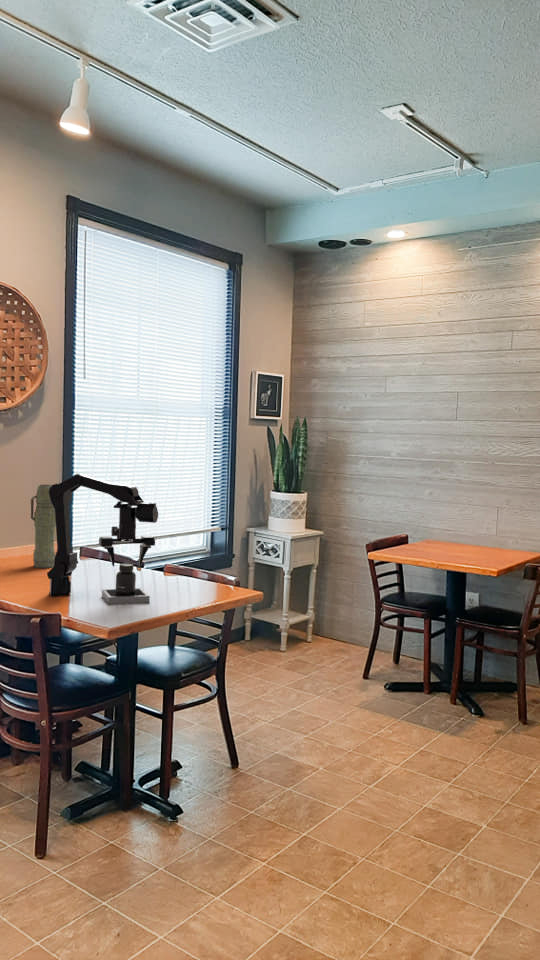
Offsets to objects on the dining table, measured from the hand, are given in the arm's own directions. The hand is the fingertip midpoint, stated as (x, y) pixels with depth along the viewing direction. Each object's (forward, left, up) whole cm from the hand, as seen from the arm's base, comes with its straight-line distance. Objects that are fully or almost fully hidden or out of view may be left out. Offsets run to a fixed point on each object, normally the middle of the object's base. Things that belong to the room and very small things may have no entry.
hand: (126, 565), depth 271 cm
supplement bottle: (0, 0, -12) cm, 12 cm away
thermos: (-21, +73, -12) cm, 77 cm away
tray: (0, 0, -12) cm, 12 cm away
